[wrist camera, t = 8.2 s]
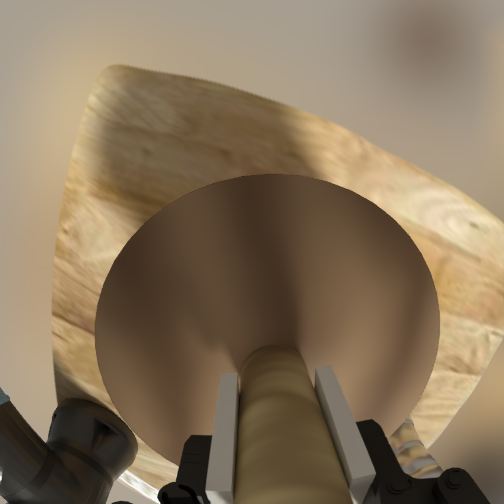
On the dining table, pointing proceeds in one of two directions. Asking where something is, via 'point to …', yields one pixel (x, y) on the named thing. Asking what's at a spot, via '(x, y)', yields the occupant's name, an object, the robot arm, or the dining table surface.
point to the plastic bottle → (413, 452)
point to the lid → (267, 326)
